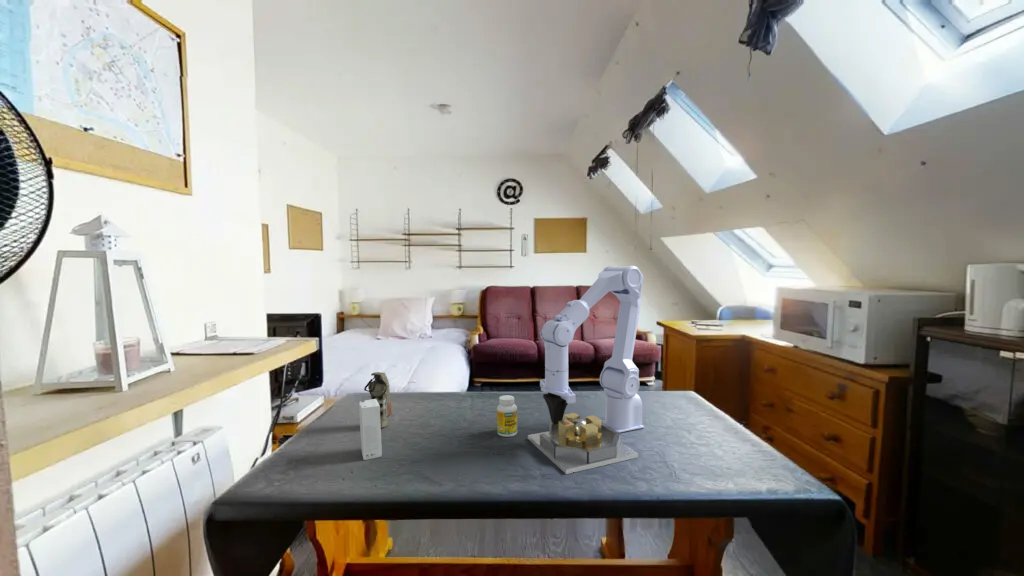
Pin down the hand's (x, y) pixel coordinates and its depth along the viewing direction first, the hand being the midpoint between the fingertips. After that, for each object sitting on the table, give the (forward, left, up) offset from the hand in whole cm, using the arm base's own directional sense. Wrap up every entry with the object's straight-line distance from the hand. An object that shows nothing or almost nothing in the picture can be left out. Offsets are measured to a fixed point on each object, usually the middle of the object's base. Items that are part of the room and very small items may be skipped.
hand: (556, 423), depth 98 cm
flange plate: (-4, +4, -5) cm, 8 cm away
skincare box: (+43, -13, -5) cm, 45 cm away
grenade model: (+40, -28, -5) cm, 49 cm away
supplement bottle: (+9, -11, -5) cm, 15 cm away
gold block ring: (-4, +4, -4) cm, 7 cm away
